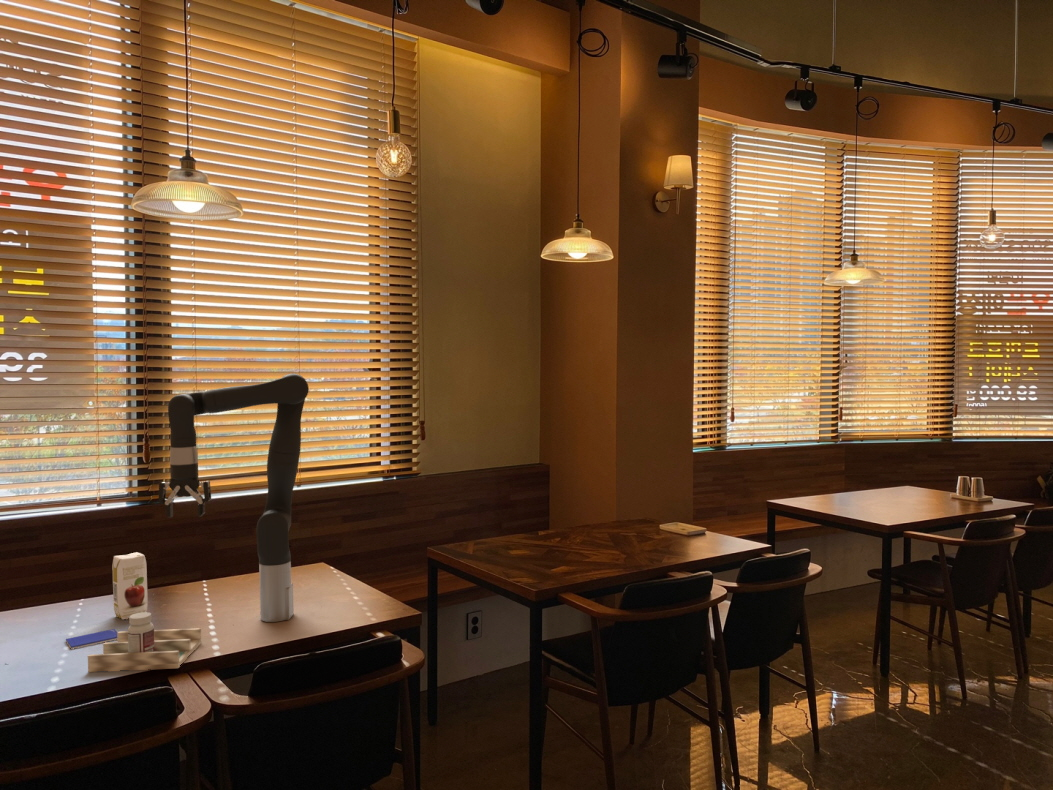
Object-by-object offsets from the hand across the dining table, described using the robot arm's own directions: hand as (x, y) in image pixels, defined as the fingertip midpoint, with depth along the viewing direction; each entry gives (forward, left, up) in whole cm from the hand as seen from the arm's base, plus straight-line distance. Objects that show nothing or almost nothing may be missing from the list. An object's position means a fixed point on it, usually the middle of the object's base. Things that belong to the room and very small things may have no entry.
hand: (185, 516), depth 228 cm
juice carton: (+22, -14, -33) cm, 42 cm away
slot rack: (+3, +23, -33) cm, 40 cm away
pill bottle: (+3, +27, -32) cm, 42 cm away
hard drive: (+24, +8, -34) cm, 42 cm away
